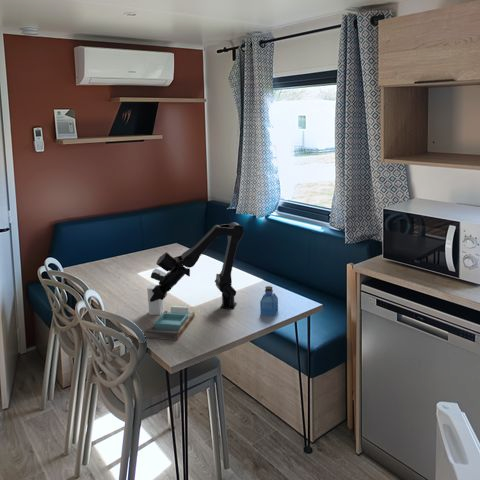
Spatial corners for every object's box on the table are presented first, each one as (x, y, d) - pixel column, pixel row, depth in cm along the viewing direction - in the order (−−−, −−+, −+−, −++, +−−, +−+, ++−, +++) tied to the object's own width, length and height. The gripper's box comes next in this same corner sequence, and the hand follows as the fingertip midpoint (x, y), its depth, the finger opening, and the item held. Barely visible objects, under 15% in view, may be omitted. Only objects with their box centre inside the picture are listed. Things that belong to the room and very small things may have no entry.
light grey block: (152, 310, 235) (150, 284, 232) (163, 310, 234) (161, 284, 231) (149, 314, 230) (147, 288, 227) (160, 314, 229) (158, 288, 226)
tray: (168, 313, 229) (167, 305, 228) (192, 314, 227) (191, 307, 226) (154, 329, 213) (153, 321, 212) (179, 331, 211) (179, 322, 210)
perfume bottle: (260, 314, 226) (259, 289, 223) (265, 309, 232) (264, 284, 229) (273, 316, 224) (273, 290, 221) (278, 310, 229) (277, 285, 226)
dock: (165, 314, 229) (164, 308, 228) (194, 316, 226) (194, 310, 225) (144, 337, 207) (144, 331, 206) (177, 340, 204) (177, 333, 203)
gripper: (166, 257, 234) (145, 280, 239) (155, 270, 217) (132, 294, 221) (184, 274, 235) (162, 296, 240) (174, 288, 218) (151, 311, 222)
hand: (152, 298), depth 231 cm, fingers closed on light grey block, 5 cm apart
